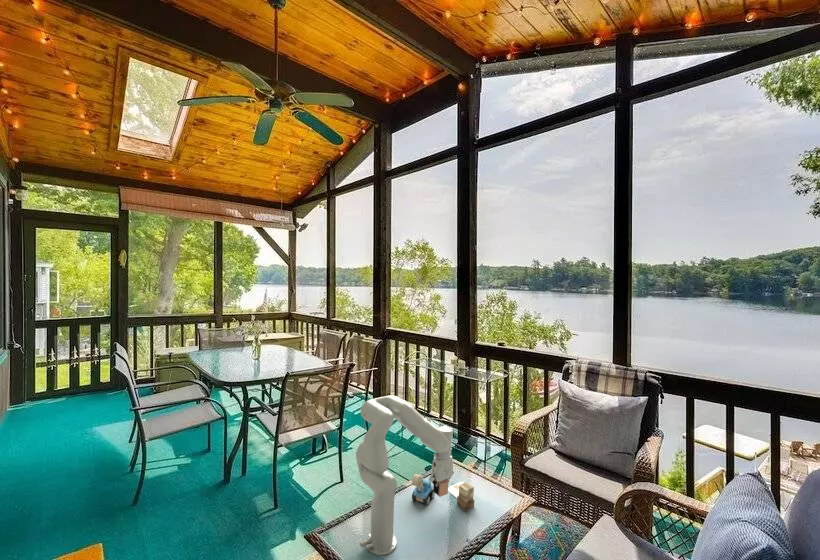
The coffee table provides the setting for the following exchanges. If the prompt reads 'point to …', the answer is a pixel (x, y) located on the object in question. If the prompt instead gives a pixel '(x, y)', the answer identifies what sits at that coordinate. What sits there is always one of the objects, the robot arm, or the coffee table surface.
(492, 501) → the coffee table surface
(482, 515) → the coffee table surface
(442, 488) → the terracotta block
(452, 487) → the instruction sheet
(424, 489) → the toy excavator
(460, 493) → the maple block
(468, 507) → the walnut base block
